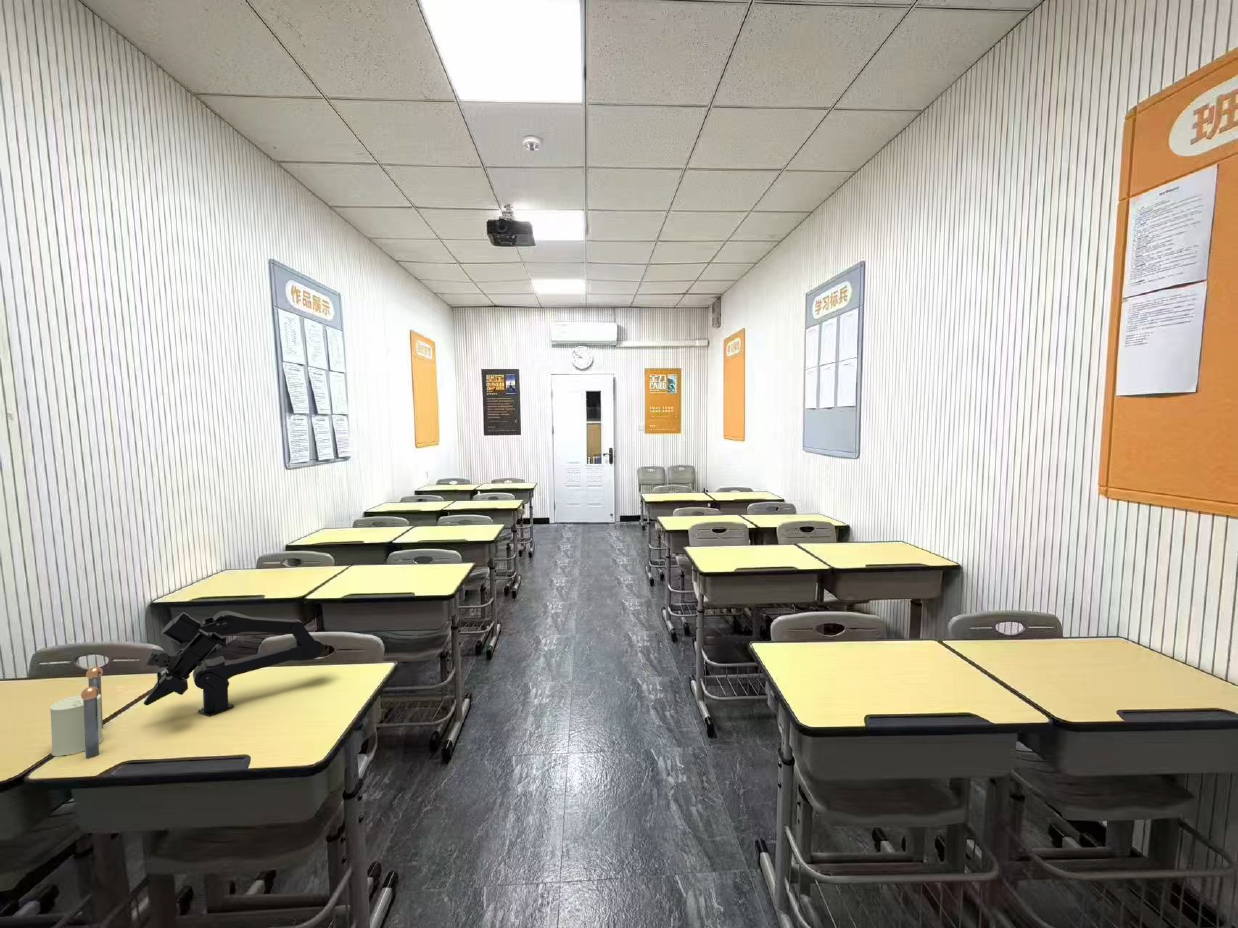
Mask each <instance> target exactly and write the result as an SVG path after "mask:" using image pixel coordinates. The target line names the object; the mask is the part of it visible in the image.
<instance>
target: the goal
mask: <svg viewBox="0 0 1238 928" xmlns="http://www.w3.org/2000/svg"><path fill="white" fill-rule="evenodd" d="M103 672H104V671H103V668H101V667H100V666H92V667H90V668H89V669H88V670H87V671H86V674H85V677H86V678H87V679H88V680H87V681H88V687H85V688H84V689H83V690H82V691H81V693H80V695H81V698H82V699H83V704H84V730H85V751H84V752H85V753H84V754H85V759H92V758H95V757H97V756H98V755H100V744H99V733H98V707H97V696H98V695H99V694H100V695H101V724H102V729H103V728H104V726H103V725H104V723H103V700H102V699H103V698H102V697H103V694H102V675H103Z"/></svg>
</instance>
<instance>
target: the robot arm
mask: <svg viewBox="0 0 1238 928" xmlns="http://www.w3.org/2000/svg"><path fill="white" fill-rule="evenodd" d="M248 632H249V633H250V632H251V633H253V632H254V633H269V634H271V633H273V634H287V635H289V634H291V635H292V636H293V637H294V639H295V641H293V642H291V643H290V644H289V645H287V646H284V647H283V646H282V647H279V648H275V649H272V650H268V651H263V652H260V653H259V652H258V653H256V654H253V655H247V656H243V657H241V658H237V659H232V660H225V658H224V656H223V655H220V656H218V657H215V658H210V659H206V657H208V656H209V655H210V653H211V652H212V651H213V650H215V648H216V647H217V646H221V647H223V648H226V647H227V638H228V637H227V636H229V635H238V634H242V633H248ZM160 634H161V635H163V636H165V637H166V638H169V639H170V640H172V641H174V642H176V643H177V644H179V645H183V643H184V644H187V645H186V646H185V647H184V648H183V647H182V648H179V649H178V651H176V652H174V651H169V650H164V649H157V648H153V649H151V650H150V653H149V654H148V656H147V659H146V661H145V662H146V663H145V665H146V666H150V667H153V666H157V668H158V669H161V668H163V670H162V671H161V672H160V671H157V672H156V679H157V680H156V683H155V684H154V686H153V687H152V688H151V691H150V692H149V693H148V695H147V696H146V698H145V700H144V701H143V704H144V706H149V705H152V704H153V703H155V702H156V701H159V700H161V699H162V698H165V697H166V696H168V695H171V694H173V693H176V694H178V695H179V696H182V695H184V694H185V693H186V691H188V689H189V685H188V679H189V678H190V674H191V673H192V678H193V682H194V685H195V686H196V687H197V688H198V689H201V690H202V700H203V701H202V703H203V707H202V708H200V709H198V710H197V713H199V714H202V715H205V716H208V717H212V716H215V715H218V714H219V713H222V712H224V711H227V710H229V709H232V708H235V705H234V704H232V703H229V686H230V681H229V679H231V678H233V677H236V676H239V675H243V674H246V673H250V672H253V671H256V670H260V669H264V668H267V667H272V666H275V665H279V664H283V663H286V662H289V661H294V662H295V661H296V662H297V661H299V662H302V661H310V660H311V661H312V660H316V659H317V658H319V657H320V656H321V655H322V653H323V651H324V646H323V643H322V642H321V641H320V640H319V639H318V638H317V637H315V635H311V634H310V632H309V631H308V629H307V628H306V627H305V625H304V623H303V622H302V621H301V620H299V619H298V618H297V619H296V618H294V619H291V618H290V619H289V618H288V619H286V618H272V617H271V618H270V617H259V616H249V615H245V614H243V613H239V612H235V611H230V610H220V611H219V612H217V613H215V614H214V615H213V616H210V617H207V618H204V619H200V620H197V619H195V618H193V617H191V616H190V615H189V614H188V613H187V612H184V611H182V612H181V613H180V614H179V615H177V616H176V617H175V618H173V619H171V620H169V622H168V623H167V624H166V625H165V626H164V627H163V628H162V630H161V632H160ZM203 661H204V662H203Z"/></svg>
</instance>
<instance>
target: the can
mask: <svg viewBox="0 0 1238 928" xmlns="http://www.w3.org/2000/svg"><path fill="white" fill-rule="evenodd" d="M97 707H98V733H99V745H100V744H101V743H102V742H103V740H104V738H103V728H102V724H101V695H100V694H99V695H98V696H97ZM49 710H50V723H51V724H50V726H51V728H50V729H51V753H50V755H51V756H53V757H62V756H61V755H68V756H70V755H69V754H73V753H77V754H80V753H83V752H85V730H84V704H83V699H82V698H81V694H77V695H73V696H71V697H66V698H63V699H61V700H59V701H56V702H54V703H52V705H50V707H49ZM82 751H83V752H82ZM73 755H74V754H73Z"/></svg>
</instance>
